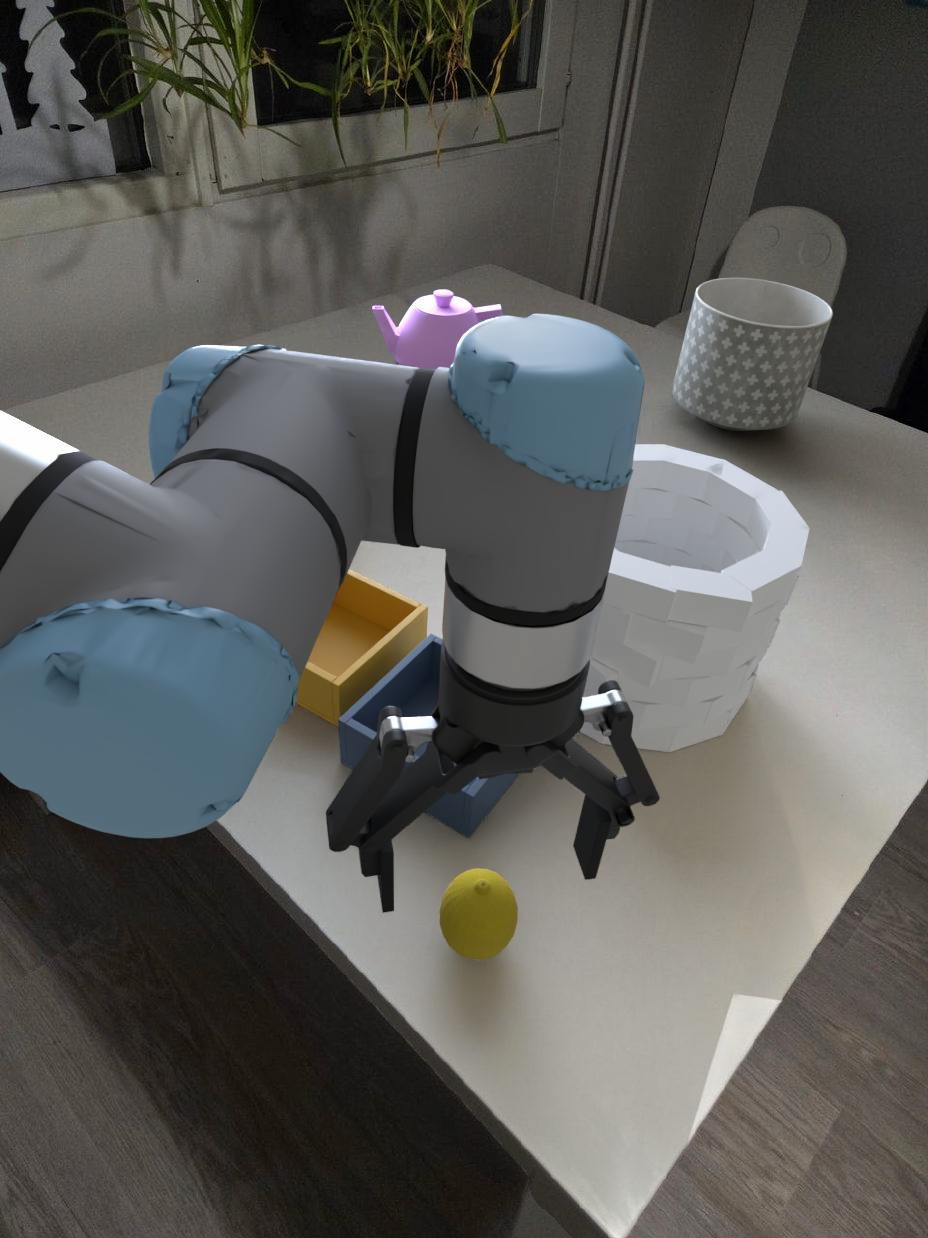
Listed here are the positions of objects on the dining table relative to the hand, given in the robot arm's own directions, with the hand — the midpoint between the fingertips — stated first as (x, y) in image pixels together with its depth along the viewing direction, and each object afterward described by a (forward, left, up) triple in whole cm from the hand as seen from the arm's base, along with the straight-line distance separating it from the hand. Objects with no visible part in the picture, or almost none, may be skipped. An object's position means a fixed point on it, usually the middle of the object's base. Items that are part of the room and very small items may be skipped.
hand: (487, 877), depth 55 cm
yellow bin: (-28, +17, -9) cm, 34 cm away
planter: (-14, +95, -9) cm, 96 cm away
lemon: (0, 0, -9) cm, 9 cm away
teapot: (-59, +81, -9) cm, 101 cm away
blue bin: (-12, +14, -9) cm, 21 cm away
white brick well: (-3, +34, -9) cm, 35 cm away
